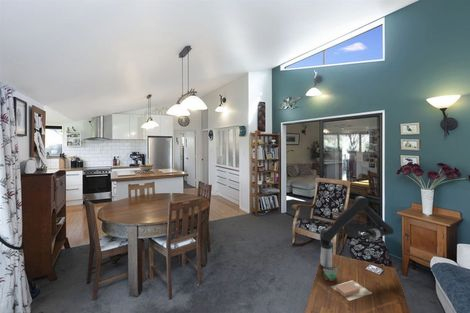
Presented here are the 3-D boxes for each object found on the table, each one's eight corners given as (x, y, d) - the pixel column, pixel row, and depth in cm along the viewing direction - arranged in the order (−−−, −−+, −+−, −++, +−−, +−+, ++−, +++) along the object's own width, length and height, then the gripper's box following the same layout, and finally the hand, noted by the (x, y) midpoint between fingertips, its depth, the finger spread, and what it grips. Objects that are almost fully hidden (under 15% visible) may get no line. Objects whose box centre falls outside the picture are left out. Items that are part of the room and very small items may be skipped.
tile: (349, 285, 185) (335, 289, 180) (349, 282, 185) (335, 286, 180) (359, 292, 177) (344, 296, 172) (359, 288, 177) (345, 293, 172)
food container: (327, 284, 190) (327, 271, 189) (323, 279, 196) (323, 267, 195) (341, 282, 192) (341, 269, 191) (336, 277, 198) (336, 266, 197)
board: (330, 288, 184) (330, 286, 184) (352, 281, 192) (352, 280, 192) (349, 302, 168) (349, 300, 167) (372, 294, 175) (372, 293, 175)
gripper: (366, 226, 208) (350, 229, 202) (380, 231, 196) (364, 235, 189) (365, 235, 208) (350, 238, 202) (379, 241, 196) (364, 244, 190)
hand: (357, 236), depth 196 cm, fingers closed
